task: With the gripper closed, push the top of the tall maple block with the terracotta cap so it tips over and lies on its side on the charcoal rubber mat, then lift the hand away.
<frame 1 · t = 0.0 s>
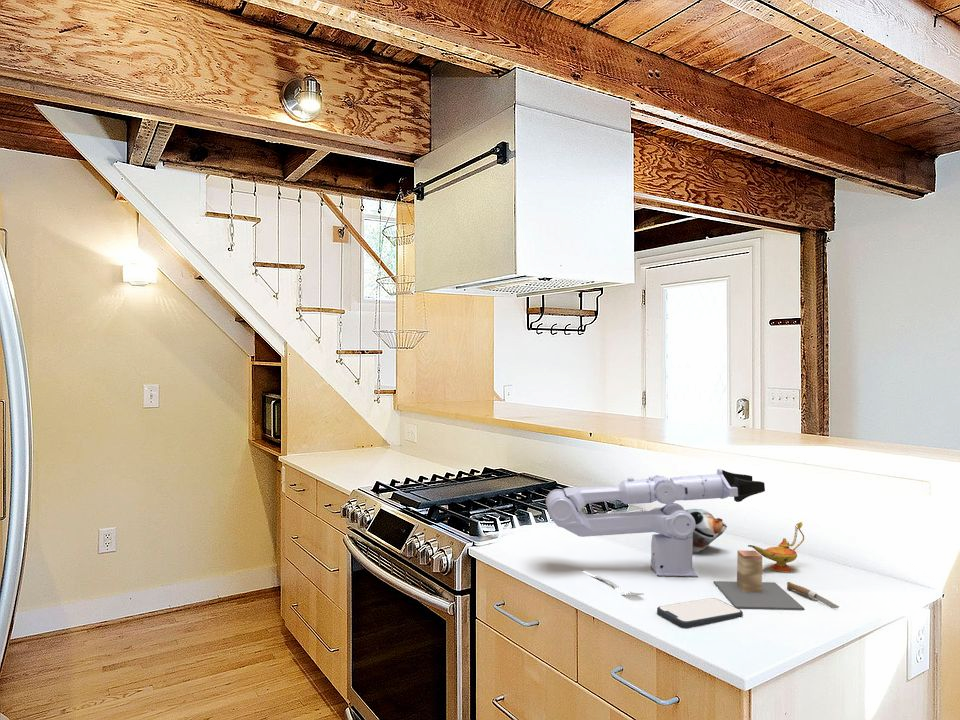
hand: (757, 483, 161), 22 cm above the worktop, tool horizontal, fingers open, 7 cm apart
phone case: (699, 617, 136), on the worktop
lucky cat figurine: (692, 549, 181), on the worktop
maple block: (749, 588, 149), resting on rubber mat
rubber mat: (756, 595, 146), on the worktop
fork: (605, 585, 154), on the worktop
magic lamp: (776, 570, 164), on the worktop
folding knife: (812, 601, 145), on the worktop
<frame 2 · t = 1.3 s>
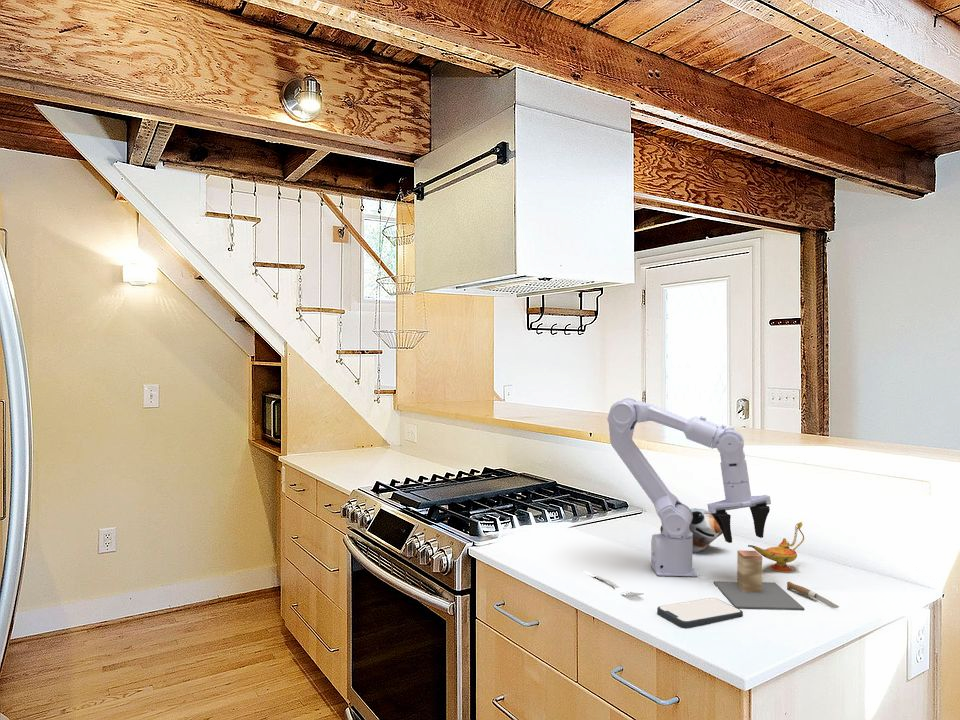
hand: (744, 539, 156), 10 cm above the worktop, tool pointing down, fingers open, 7 cm apart
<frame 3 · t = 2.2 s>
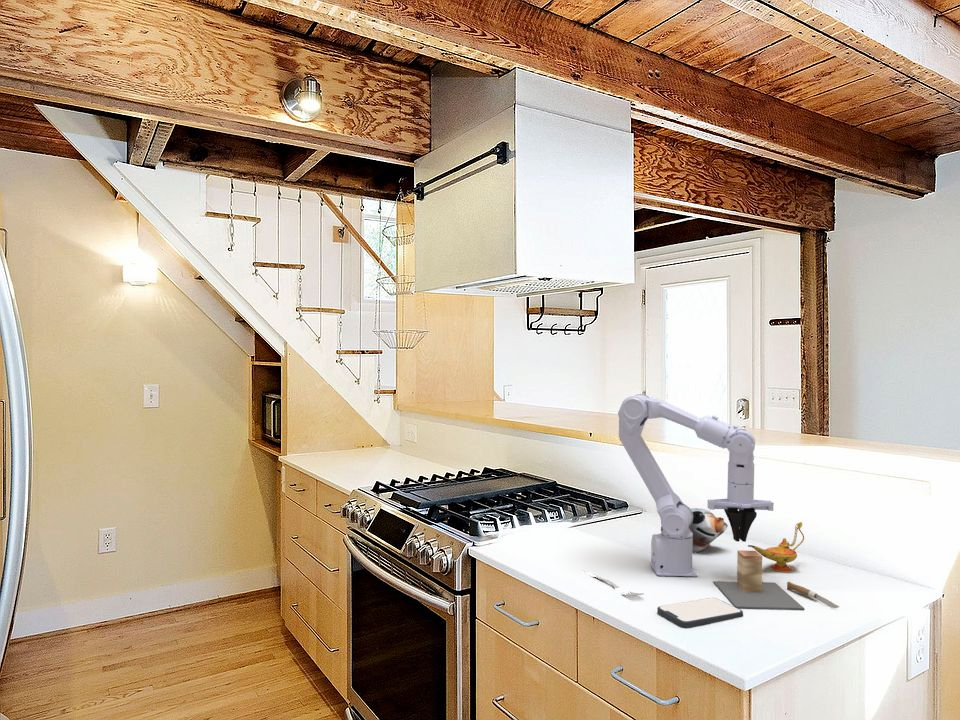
hand: (739, 540, 156), 9 cm above the worktop, tool pointing down, fingers closed
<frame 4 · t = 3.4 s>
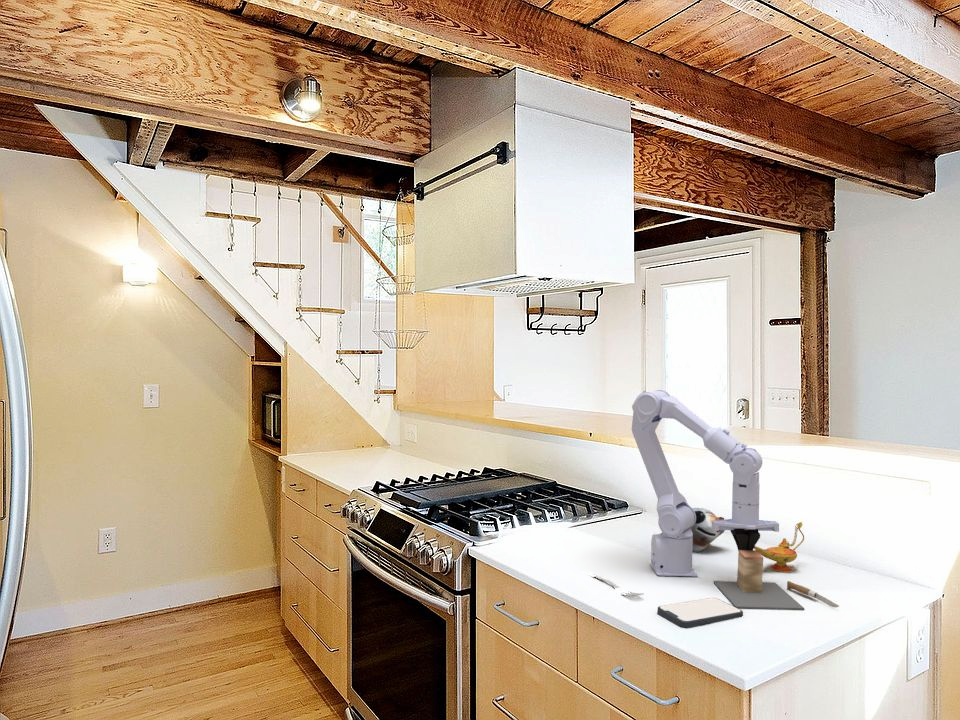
hand: (744, 561, 153), 5 cm above the worktop, tool pointing down, fingers closed, pressing on maple block
maple block: (749, 588, 149), point 1 cm above the worktop, touching gripper, rubber mat
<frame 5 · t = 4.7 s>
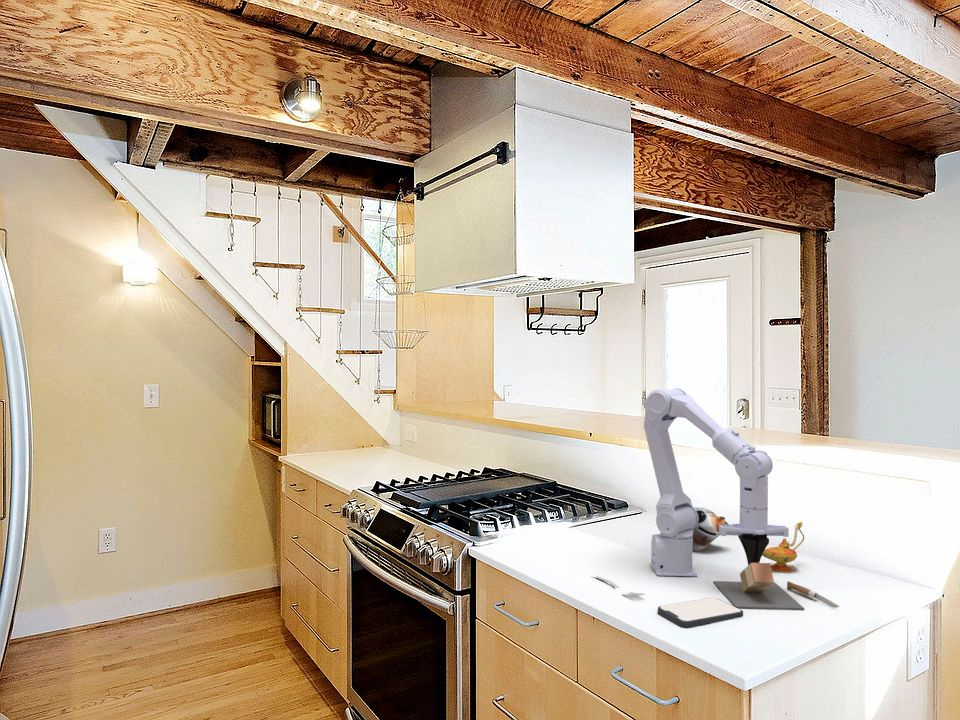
hand: (753, 568, 148), 6 cm above the worktop, tool pointing down, fingers closed, pressing on maple block
maple block: (750, 583, 149), point 2 cm above the worktop, tilted 55°, touching gripper, rubber mat
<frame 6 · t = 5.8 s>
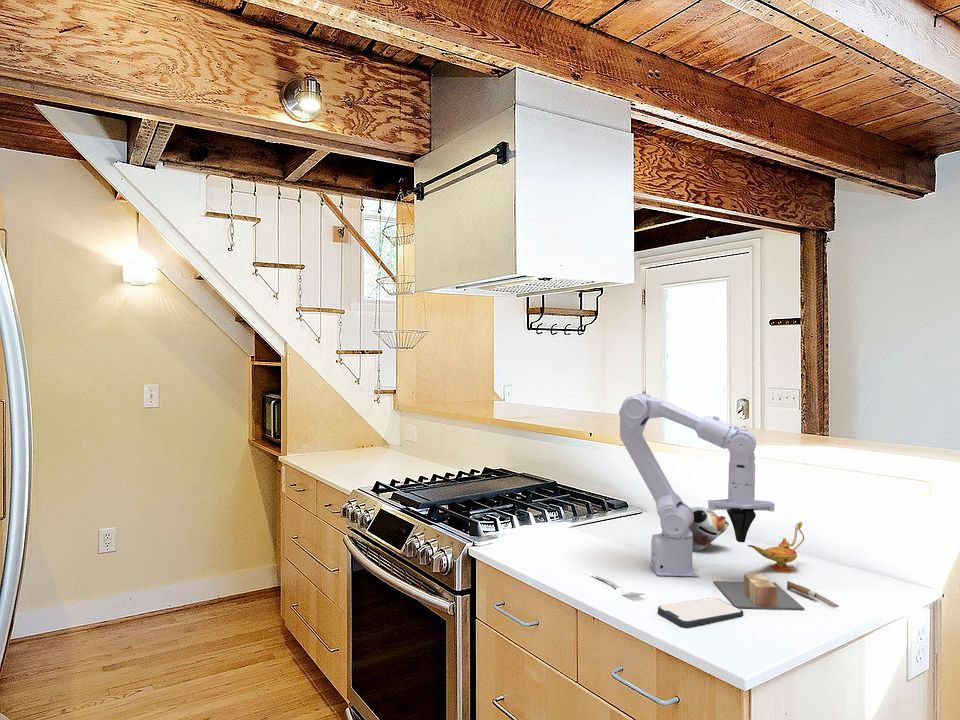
hand: (740, 541, 155), 9 cm above the worktop, tool pointing down, fingers closed
maple block: (752, 583, 147), point 2 cm above the worktop, tilted 90°, touching rubber mat
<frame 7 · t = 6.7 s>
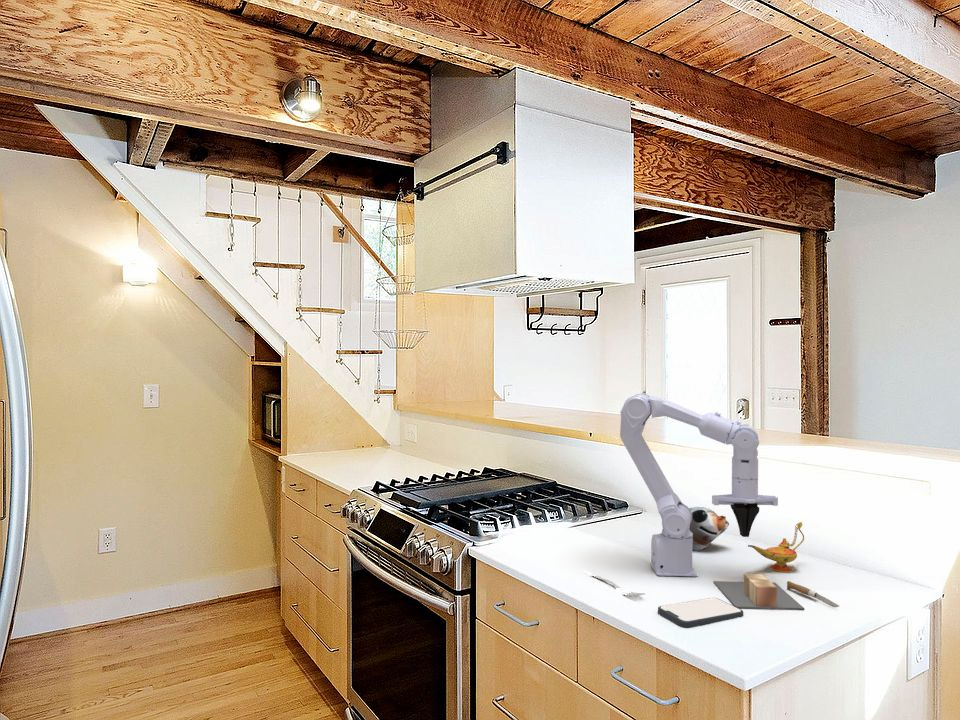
hand: (744, 535, 156), 10 cm above the worktop, tool pointing down, fingers closed
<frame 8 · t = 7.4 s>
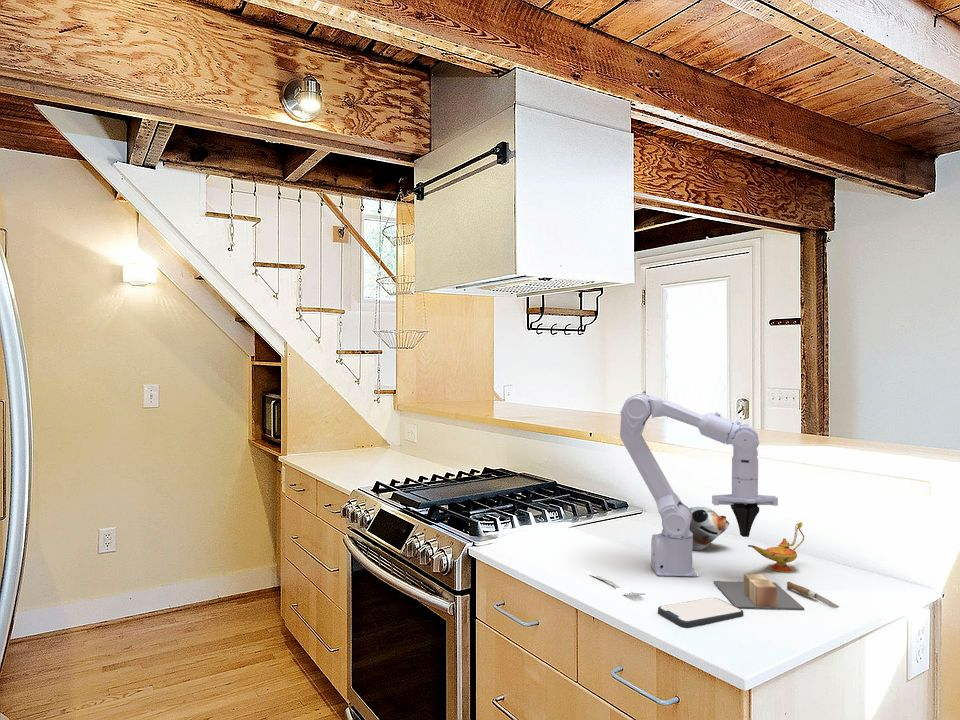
hand: (744, 535, 156), 10 cm above the worktop, tool pointing down, fingers closed
at the end: maple block tilted 90°; maple block inside the target area (0.0 cm from its centre), point 2.4 cm above the worktop; the gripper is holding nothing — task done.
